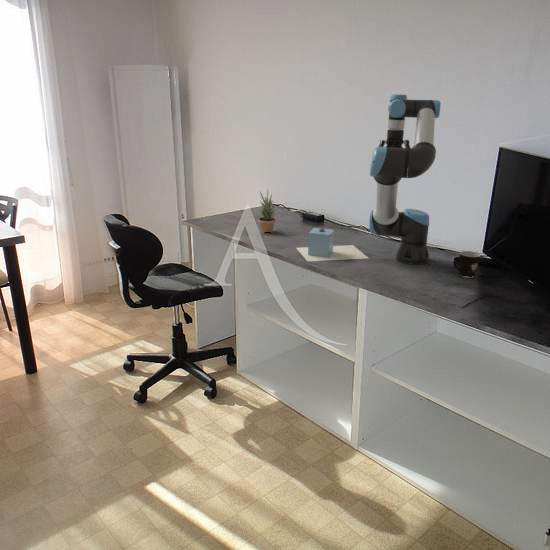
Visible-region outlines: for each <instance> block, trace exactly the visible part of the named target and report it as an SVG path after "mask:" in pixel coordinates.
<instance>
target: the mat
mask: <svg viewBox="0 0 550 550" xmlns="http://www.w3.org/2000/svg"><path fill="white" fill-rule="evenodd" d="M295 248H296V250H297V251H298V253H300V255H302V257H303V258H304V259H305V260H306V262H323V261H342V260H344V261H345V260H363V259H369V257H368V256H367V255H366V254H365V253H363V252H362V251H361V250H360V249H358V248H357V247H356V246H355V245H353V244H352V245H351V244H350V245H333V252H332V253H331V255H330V256H329V257H321V256H312V255H308V246H304V247H295Z"/></svg>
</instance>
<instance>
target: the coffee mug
mask: <svg viewBox="0 0 550 550" xmlns="http://www.w3.org/2000/svg"><path fill="white" fill-rule="evenodd" d="M481 256H482V254H481V253H479V252H477V251H473V250H472V251H471V250H462V251H459V257H456V258H454V260H453V266H454V268H456V269H457V270H458V272H459V273H458V274H460V275H462V276H469V277H472V276H475V277H476V274H477V270H478V267H479V263H480V260H481V258H482V257H481ZM457 260H459V266H457V265H456V262H457Z"/></svg>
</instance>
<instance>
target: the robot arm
mask: <svg viewBox="0 0 550 550" xmlns="http://www.w3.org/2000/svg"><path fill="white" fill-rule="evenodd" d="M441 105H442V103H441V101H440V100H439V99H438V100H436V99H408V96H407V95H406V94H391V95H390V98H389V104H388V108H387V109H388V110H387V111H388V121H387V128H388V129H387V134H386V140H384V139H380V141H379V145H378V146H376V147H375V148H374V149H373V153H372V157H371V163H370V170H369V176H370V177H373V179H374V181H375V182H376V204H375V205H376V207H375V208H374V209H372V210H371V211H370V213H369V220H368V221H369V232H370V234H372V236H378V237H395V238H396V237H397V238H401V239H400V243H399V246H398V248H397V250H396V253H395V259H396V260H397V261H398V262H400V261H401V263H403V262H405V263H404V264H408V263H413V264H412V265H423V264H422V263H424V264H427V263H428V262H429V260H430V254H429V251H428V245H427V243H428V234H429V226H430V216H429V213H427V212H425V211H423V210H419V209H414V208H405V209H404V210H403V211H399V209H398V208H397V197H398V187H399V186H398V185H399V183H400V181H401V180H402V179H414V178H417V177H420V176H422V175H423V174H425V173H426V172H427V171H428V170H429V169H430V168H431V167H432V165H433V164H434V162H435V159H436V155H437V154H436V153H437V150H436V147H435V145H434V143H435V142H434V141H435V121H436V119H438V118H440V114H441V113H440V112H441ZM406 118H416V122H415V124H416V125H415V135H414V145H413V146H412V147H411V146H410V140H409V139H404V134H405V133H404V132H405V131H404V129H405V122H406ZM385 145H386V146H385ZM403 145H404V147H403ZM426 262H427V263H426Z"/></svg>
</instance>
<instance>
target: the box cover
mask: <svg viewBox="0 0 550 550" xmlns="http://www.w3.org/2000/svg"><path fill="white" fill-rule="evenodd" d="M334 237H335V230H334V229H331V228H324V227H319V228H318V227H313V228H311V230H310V231H309V232H308V245H307V247H308V255H312V256H321V257H329V256H330V255H331V253H332V252H333V246H334V241H335V240H334Z"/></svg>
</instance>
